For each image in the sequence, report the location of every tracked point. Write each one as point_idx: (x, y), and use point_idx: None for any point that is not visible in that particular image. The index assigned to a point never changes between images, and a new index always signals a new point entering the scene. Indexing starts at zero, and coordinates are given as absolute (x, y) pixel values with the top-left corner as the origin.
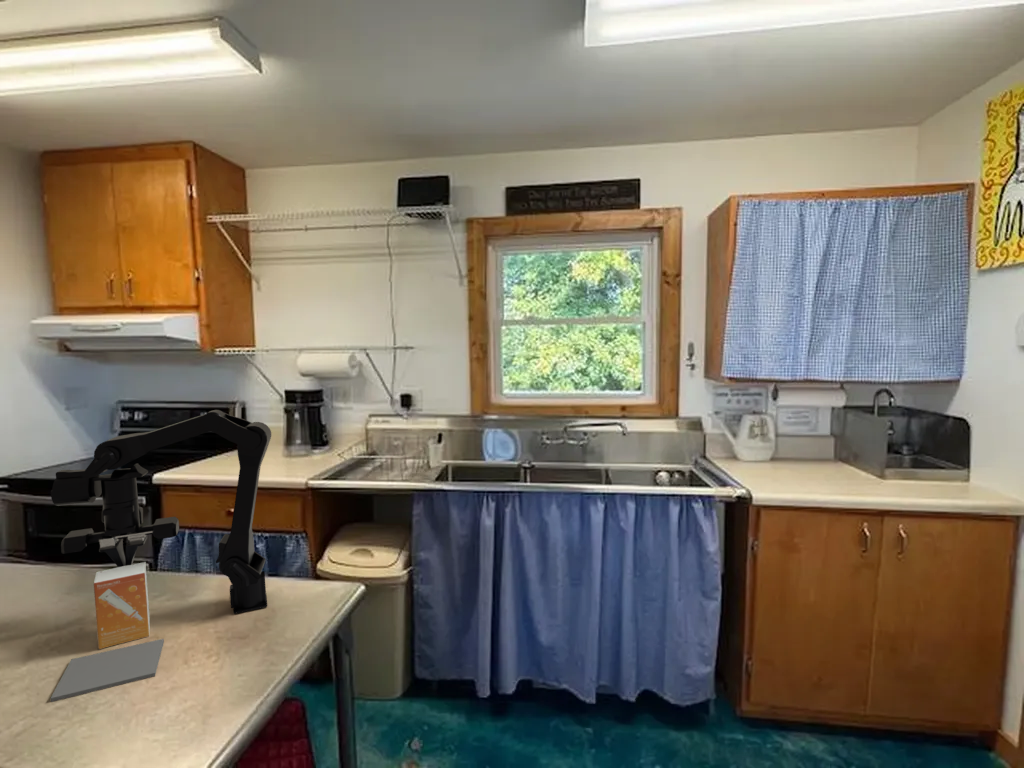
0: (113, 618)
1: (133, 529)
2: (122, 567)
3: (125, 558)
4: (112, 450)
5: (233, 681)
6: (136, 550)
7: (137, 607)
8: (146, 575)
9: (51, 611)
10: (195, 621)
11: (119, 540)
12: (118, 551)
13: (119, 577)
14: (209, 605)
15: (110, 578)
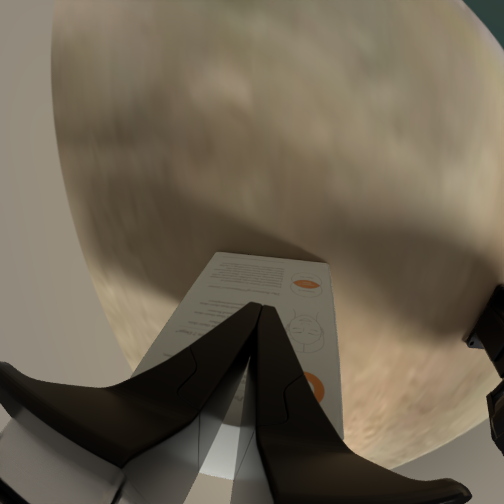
0: None
1: None
2: (230, 438)
3: (237, 452)
4: None
5: None
6: (322, 420)
7: None
8: (340, 383)
9: (104, 21)
10: (410, 325)
11: (128, 491)
12: (185, 497)
13: (227, 478)
14: (464, 261)
15: (199, 471)
